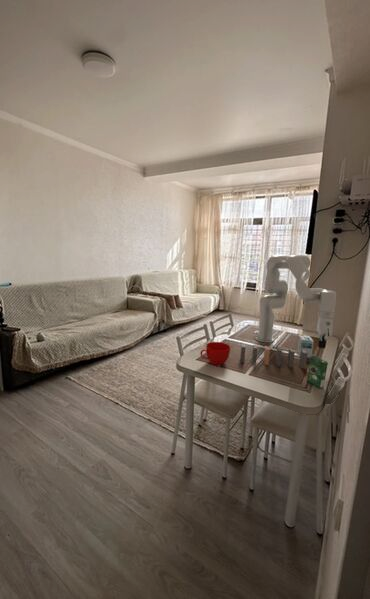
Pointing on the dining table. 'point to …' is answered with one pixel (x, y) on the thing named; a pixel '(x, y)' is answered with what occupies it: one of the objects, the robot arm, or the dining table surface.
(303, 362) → the domino
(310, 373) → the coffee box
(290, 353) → the domino
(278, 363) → the domino
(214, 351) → the ceramic cup
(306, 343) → the light bulb box
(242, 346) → the domino
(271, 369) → the dining table surface
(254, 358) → the domino
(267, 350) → the domino
